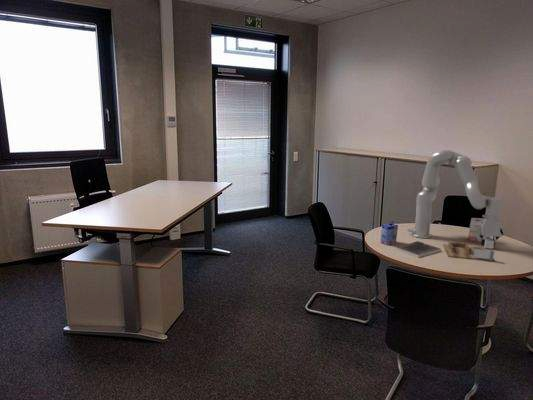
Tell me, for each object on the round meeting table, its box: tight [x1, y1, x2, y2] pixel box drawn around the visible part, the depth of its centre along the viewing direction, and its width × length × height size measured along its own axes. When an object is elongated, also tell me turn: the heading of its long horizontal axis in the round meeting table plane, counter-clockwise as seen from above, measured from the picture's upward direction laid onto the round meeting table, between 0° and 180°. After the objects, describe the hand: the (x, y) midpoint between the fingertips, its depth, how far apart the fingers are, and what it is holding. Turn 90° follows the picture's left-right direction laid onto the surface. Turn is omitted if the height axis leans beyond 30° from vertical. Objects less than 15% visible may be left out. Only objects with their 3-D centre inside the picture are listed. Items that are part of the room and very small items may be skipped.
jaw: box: [483, 236, 495, 250], centre depth 244 cm, size 4×7×6 cm, turn 164°
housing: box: [442, 241, 495, 262], centre depth 234 cm, size 24×22×5 cm
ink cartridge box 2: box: [467, 217, 484, 243], centre depth 258 cm, size 9×5×15 cm, turn 84°
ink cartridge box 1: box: [380, 220, 399, 246], centre depth 251 cm, size 10×6×14 cm, turn 123°
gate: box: [473, 249, 495, 260], centre depth 222 cm, size 10×2×5 cm, turn 74°
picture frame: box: [395, 240, 442, 258], centre depth 239 cm, size 16×2×22 cm
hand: (487, 245), depth 245 cm, fingers closed on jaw, 4 cm apart
